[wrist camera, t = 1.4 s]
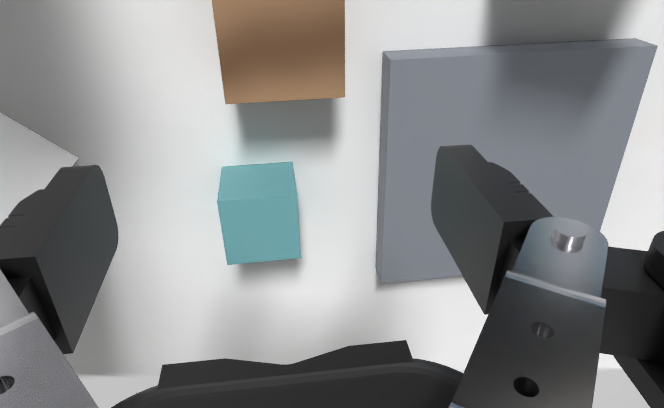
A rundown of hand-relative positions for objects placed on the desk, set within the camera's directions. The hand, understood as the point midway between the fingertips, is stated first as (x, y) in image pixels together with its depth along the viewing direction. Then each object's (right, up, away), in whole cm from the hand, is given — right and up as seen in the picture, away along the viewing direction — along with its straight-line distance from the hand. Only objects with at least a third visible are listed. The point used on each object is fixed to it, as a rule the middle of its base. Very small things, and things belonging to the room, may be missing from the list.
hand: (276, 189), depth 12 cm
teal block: (-3, 0, +21) cm, 21 cm away
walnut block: (-2, +10, +15) cm, 19 cm away
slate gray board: (+12, +2, +22) cm, 25 cm away
